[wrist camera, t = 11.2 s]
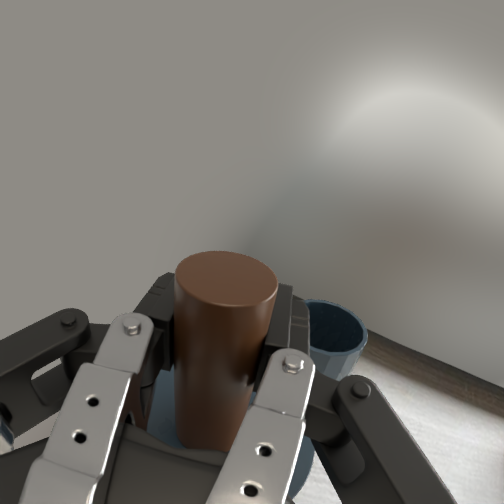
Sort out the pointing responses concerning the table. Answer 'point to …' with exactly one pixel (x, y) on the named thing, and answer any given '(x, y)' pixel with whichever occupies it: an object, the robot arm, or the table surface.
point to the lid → (217, 355)
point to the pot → (334, 338)
